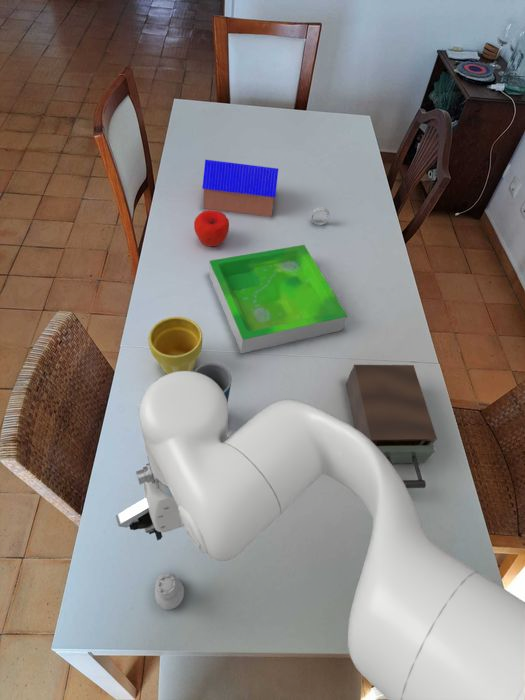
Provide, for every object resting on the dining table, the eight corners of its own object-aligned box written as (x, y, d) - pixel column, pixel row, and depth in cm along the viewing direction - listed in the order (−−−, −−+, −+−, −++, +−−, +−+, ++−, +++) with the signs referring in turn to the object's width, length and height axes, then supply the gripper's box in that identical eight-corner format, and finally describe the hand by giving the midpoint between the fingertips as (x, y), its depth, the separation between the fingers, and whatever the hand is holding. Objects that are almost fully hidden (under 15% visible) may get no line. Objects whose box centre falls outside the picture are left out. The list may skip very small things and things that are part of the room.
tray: (342, 330, 107) (347, 316, 103) (241, 353, 100) (242, 339, 96) (301, 259, 120) (304, 244, 116) (209, 275, 113) (209, 260, 109)
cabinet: (422, 455, 89) (437, 438, 84) (360, 456, 88) (371, 439, 82) (401, 383, 99) (413, 364, 93) (345, 383, 98) (354, 364, 92)
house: (207, 185, 136) (208, 147, 127) (274, 193, 137) (279, 156, 128) (202, 209, 129) (202, 171, 119) (272, 217, 130) (277, 181, 120)
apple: (203, 257, 117) (202, 232, 111) (189, 236, 121) (188, 211, 115) (234, 248, 120) (235, 224, 114) (219, 228, 124) (220, 204, 118)
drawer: (432, 493, 84) (444, 482, 79) (373, 494, 82) (382, 484, 78) (404, 393, 96) (413, 380, 92) (352, 393, 95) (358, 379, 91)
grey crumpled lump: (327, 227, 129) (331, 212, 125) (310, 225, 129) (313, 211, 125) (326, 221, 131) (330, 206, 127) (309, 219, 131) (312, 204, 127)
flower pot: (154, 345, 98) (149, 315, 91) (202, 345, 100) (202, 315, 92) (151, 386, 92) (146, 357, 85) (202, 384, 94) (202, 357, 86)
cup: (189, 433, 87) (186, 391, 75) (198, 403, 91) (197, 359, 79) (224, 440, 87) (227, 399, 75) (231, 409, 91) (235, 366, 79)
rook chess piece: (150, 605, 69) (145, 597, 63) (161, 574, 72) (156, 563, 65) (178, 613, 69) (176, 605, 63) (188, 581, 72) (186, 571, 65)
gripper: (111, 529, 42) (134, 569, 56) (278, 464, 48) (262, 515, 61) (94, 459, 46) (119, 512, 60) (250, 406, 52) (241, 466, 65)
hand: (192, 513), depth 60 cm, fingers open, 9 cm apart
